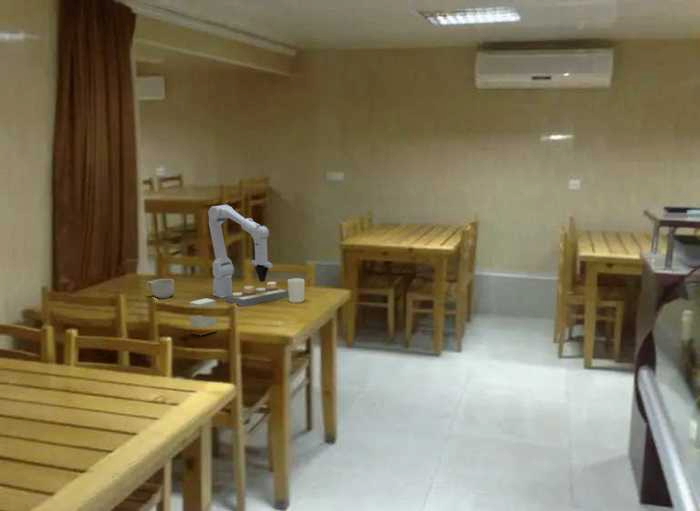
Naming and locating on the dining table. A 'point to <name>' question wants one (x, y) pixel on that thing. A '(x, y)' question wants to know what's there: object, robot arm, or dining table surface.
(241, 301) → the board
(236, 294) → the button
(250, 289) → the button
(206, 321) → the small box
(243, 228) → the robot arm
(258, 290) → the button
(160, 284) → the teacup
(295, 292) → the white cup
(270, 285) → the button
